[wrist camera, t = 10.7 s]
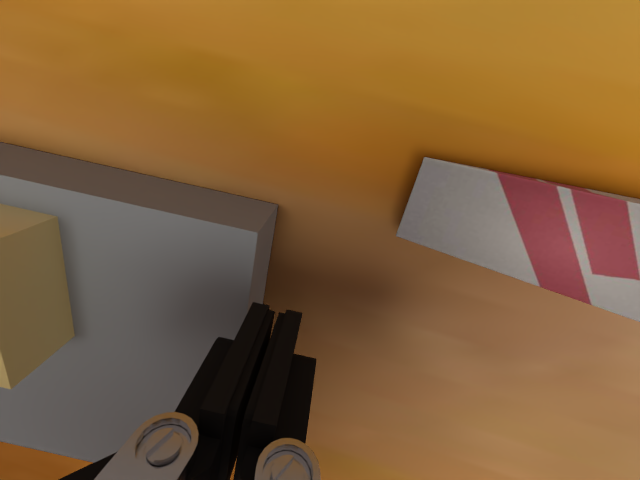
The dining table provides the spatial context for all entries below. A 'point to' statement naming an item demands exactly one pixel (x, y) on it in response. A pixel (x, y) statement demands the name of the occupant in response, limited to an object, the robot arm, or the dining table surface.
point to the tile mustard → (31, 293)
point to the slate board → (130, 296)
